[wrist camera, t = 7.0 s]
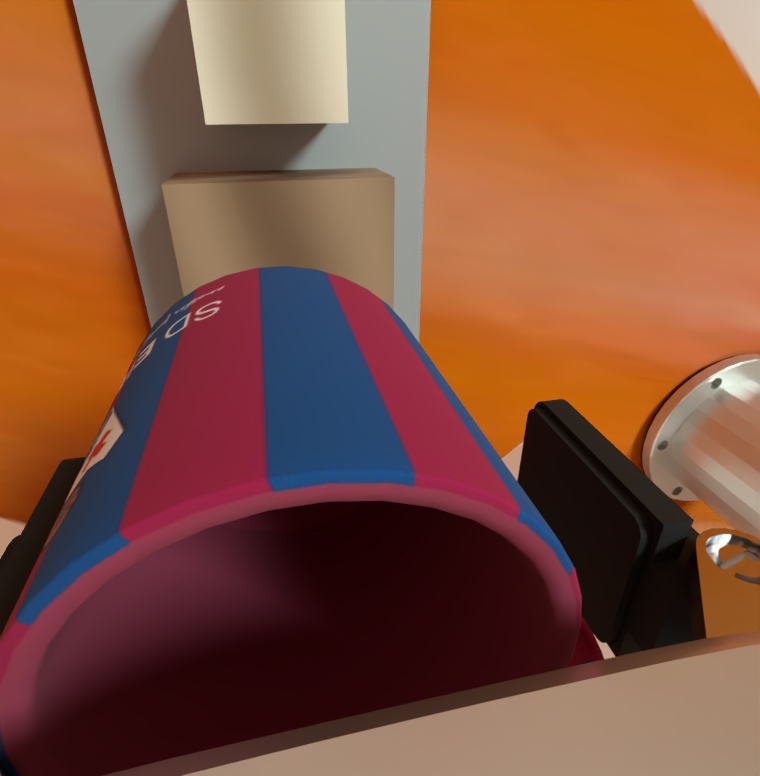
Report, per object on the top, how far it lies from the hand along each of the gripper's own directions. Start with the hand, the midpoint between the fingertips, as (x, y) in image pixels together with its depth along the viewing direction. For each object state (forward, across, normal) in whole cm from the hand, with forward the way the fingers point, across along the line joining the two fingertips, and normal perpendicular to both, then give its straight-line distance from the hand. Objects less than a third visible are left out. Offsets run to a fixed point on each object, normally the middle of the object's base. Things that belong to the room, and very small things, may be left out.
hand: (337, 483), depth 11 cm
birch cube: (+17, 0, -9) cm, 19 cm away
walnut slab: (+17, 0, 0) cm, 17 cm away
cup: (+2, 0, 0) cm, 2 cm away
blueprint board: (+18, 0, -4) cm, 18 cm away
